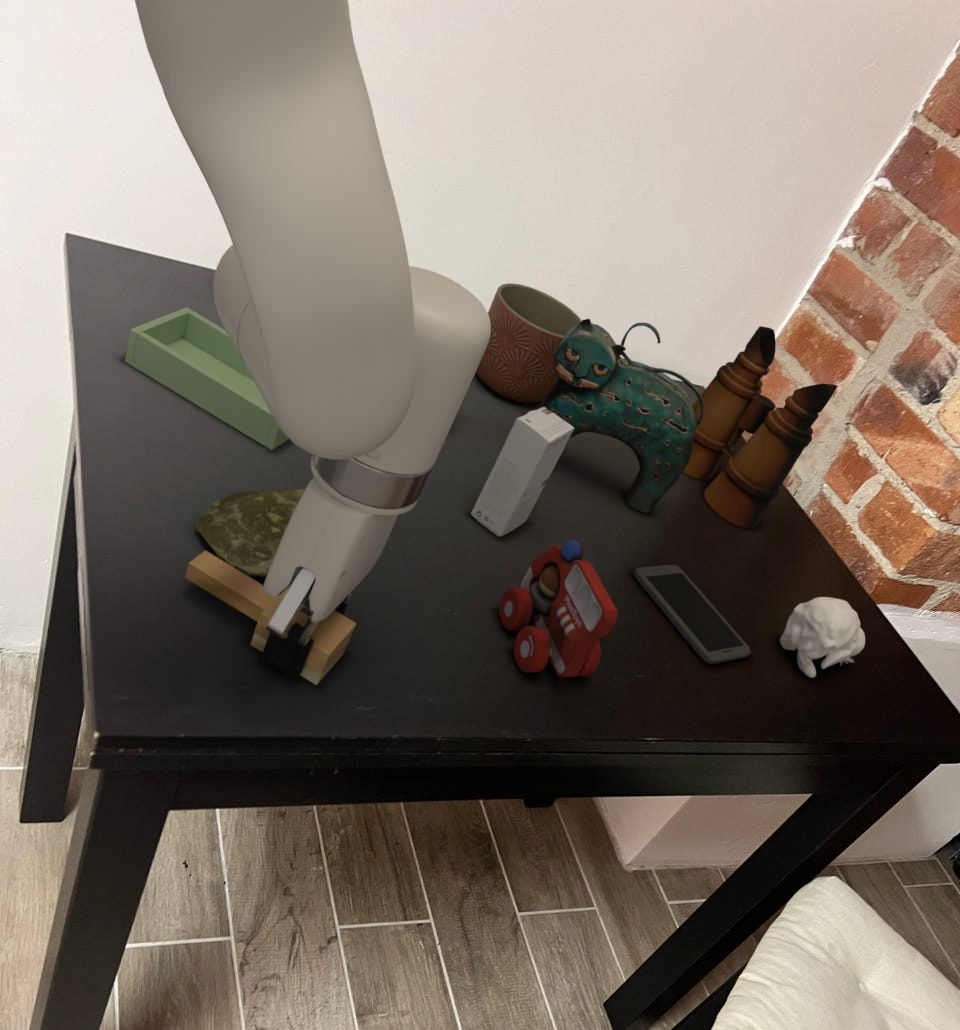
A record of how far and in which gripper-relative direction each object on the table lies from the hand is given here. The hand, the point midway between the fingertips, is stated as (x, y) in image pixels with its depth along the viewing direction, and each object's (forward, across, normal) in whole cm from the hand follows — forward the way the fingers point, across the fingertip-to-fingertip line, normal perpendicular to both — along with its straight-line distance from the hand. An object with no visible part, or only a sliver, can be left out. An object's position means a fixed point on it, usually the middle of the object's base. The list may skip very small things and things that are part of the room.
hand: (298, 646), depth 71 cm
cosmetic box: (+1, -32, +6) cm, 33 cm away
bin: (0, -26, -24) cm, 35 cm away
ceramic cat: (+1, -50, +11) cm, 52 cm away
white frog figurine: (+1, -42, +44) cm, 60 cm away
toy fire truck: (+1, -17, +16) cm, 23 cm away
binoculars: (+1, -68, +26) cm, 73 cm away
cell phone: (0, -36, +29) cm, 46 cm away
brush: (0, 0, -3) cm, 4 cm away
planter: (+1, -62, -4) cm, 63 cm away
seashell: (+1, -9, -9) cm, 13 cm away
